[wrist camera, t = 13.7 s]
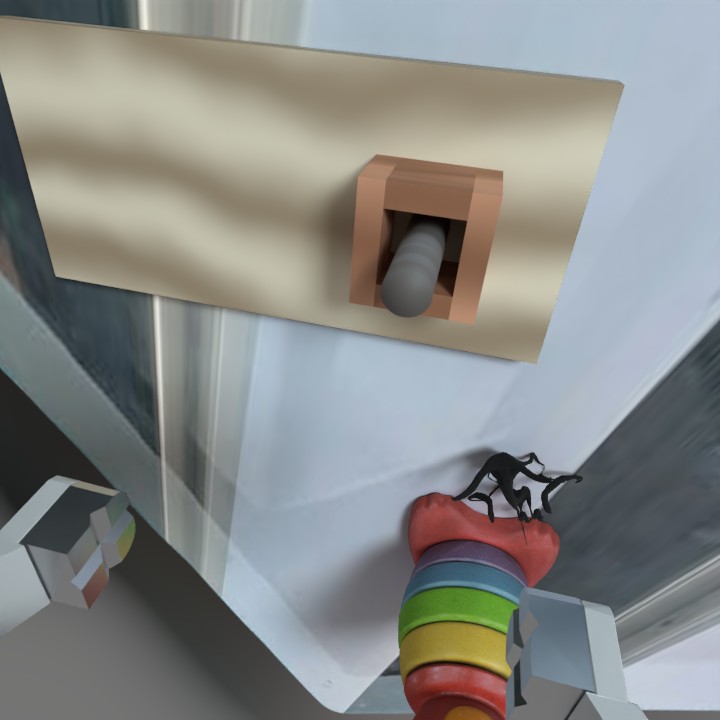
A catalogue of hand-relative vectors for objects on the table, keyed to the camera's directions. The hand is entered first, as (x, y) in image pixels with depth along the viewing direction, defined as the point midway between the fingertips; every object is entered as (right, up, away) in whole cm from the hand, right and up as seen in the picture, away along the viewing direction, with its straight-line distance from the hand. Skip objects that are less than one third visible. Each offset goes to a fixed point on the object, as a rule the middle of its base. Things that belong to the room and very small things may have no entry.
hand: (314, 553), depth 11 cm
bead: (+4, +11, +16) cm, 20 cm away
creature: (+12, -4, +26) cm, 29 cm away
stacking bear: (+10, -10, +31) cm, 34 cm away
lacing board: (-3, +13, +19) cm, 23 cm away
